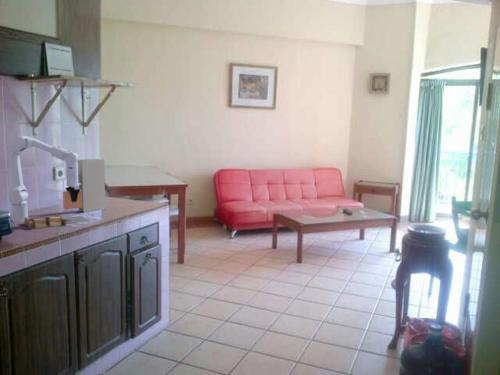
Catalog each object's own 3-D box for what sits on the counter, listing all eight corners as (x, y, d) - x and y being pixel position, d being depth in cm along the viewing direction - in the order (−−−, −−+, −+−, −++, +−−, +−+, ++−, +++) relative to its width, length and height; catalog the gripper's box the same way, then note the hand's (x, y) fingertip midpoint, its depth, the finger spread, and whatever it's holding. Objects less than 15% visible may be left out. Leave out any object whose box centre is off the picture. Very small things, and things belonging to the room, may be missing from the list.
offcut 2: (48, 225, 226) (48, 217, 226) (59, 224, 229) (59, 216, 229) (50, 226, 224) (50, 218, 223) (61, 225, 227) (60, 217, 226)
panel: (63, 208, 237) (62, 191, 236) (81, 206, 243) (80, 190, 241) (65, 209, 235) (64, 192, 234) (82, 207, 240) (82, 190, 239)
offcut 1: (33, 227, 222) (33, 219, 221) (44, 225, 225) (44, 217, 224) (35, 228, 220) (34, 220, 219) (46, 226, 223) (45, 219, 222)
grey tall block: (100, 208, 275) (99, 158, 270) (105, 209, 271) (104, 159, 267) (78, 211, 264) (76, 159, 259) (83, 212, 260) (82, 160, 256)
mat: (58, 219, 242) (58, 218, 242) (81, 216, 249) (81, 215, 249) (65, 224, 231) (65, 223, 231) (89, 221, 238) (89, 220, 238)
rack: (24, 224, 229) (24, 217, 229) (57, 220, 239) (57, 214, 238) (31, 230, 217) (31, 223, 217) (66, 226, 227) (65, 219, 227)
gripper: (84, 176, 233) (85, 202, 235) (75, 173, 244) (76, 198, 246) (70, 177, 229) (71, 203, 231) (62, 174, 240) (63, 199, 242)
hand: (73, 201), depth 238 cm, fingers closed on panel, 3 cm apart
